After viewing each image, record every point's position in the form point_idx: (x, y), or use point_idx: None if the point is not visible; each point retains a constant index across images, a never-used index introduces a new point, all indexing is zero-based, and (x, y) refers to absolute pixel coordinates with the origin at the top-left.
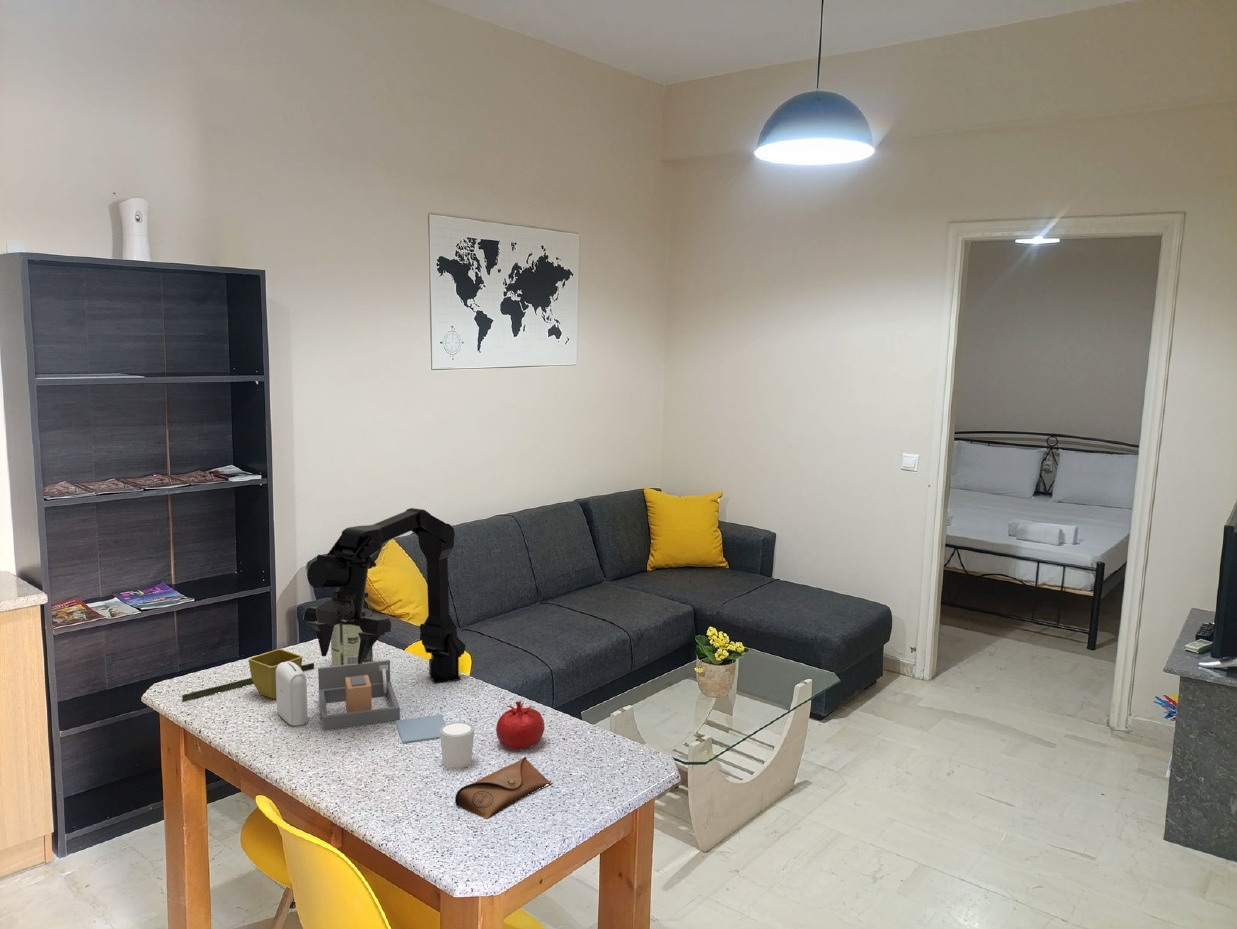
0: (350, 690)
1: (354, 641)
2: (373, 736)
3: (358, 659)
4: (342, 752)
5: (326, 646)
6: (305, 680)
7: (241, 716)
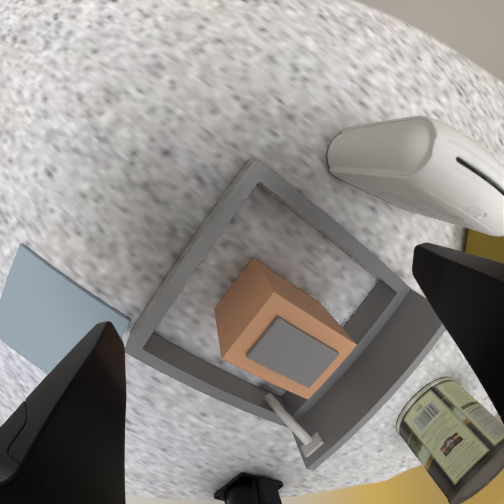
0: (266, 297)
1: (447, 444)
2: (103, 225)
3: (95, 339)
4: (96, 108)
5: (454, 303)
6: (404, 175)
7: (460, 124)
